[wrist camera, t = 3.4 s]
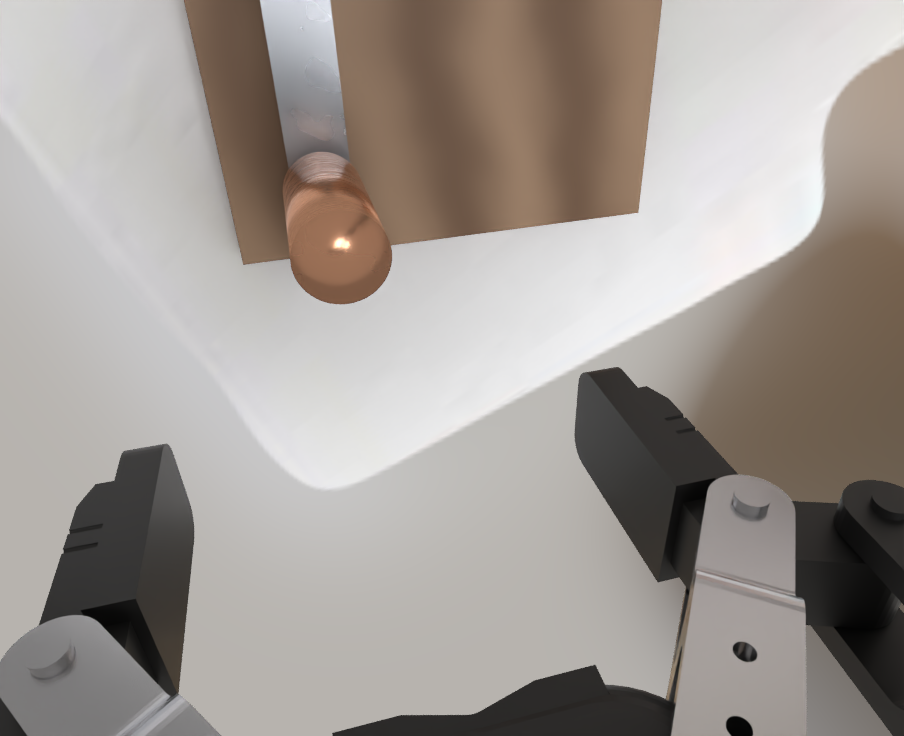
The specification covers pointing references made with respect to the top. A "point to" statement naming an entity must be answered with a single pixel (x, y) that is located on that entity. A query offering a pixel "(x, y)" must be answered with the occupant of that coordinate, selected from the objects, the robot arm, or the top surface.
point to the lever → (321, 160)
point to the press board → (446, 112)
